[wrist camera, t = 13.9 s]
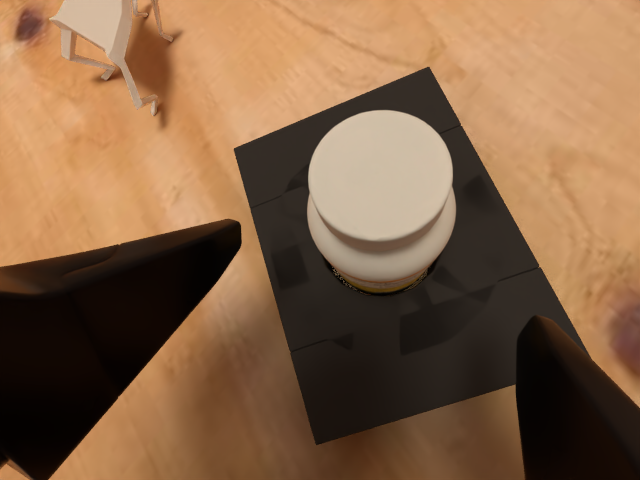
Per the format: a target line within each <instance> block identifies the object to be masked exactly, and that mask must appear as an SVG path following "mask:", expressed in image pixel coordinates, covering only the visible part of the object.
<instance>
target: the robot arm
mask: <svg viewBox="0 0 640 480" xmlns="http://www.w3.org/2000/svg"><path fill="white" fill-rule="evenodd" d="M241 243H242V240H241V225H240V223H239V222H238V221H235V220H231V219H225V220H221V221H216V222H212V223H208V224H203V225H199V226H195V227H191V228H186V229H182V230H178V231H173V232H169V233H165V234H160V235H156V236H152V237H148V238H143V239H139V240H135V241H130V242H126V243H122V244H120V245H118V244H117V245H113V246H109V247H104V248H100V249H95V250H91V251H86V252H81V253H76V254H71V255H66V256H60V257H55V258H49V259H44V260H38V261H33V262H27V263H22V264H16V265H10V266H4V267H0V469H1V468H2V467H3V466H4V465H5V464H7V465H9V466H10V467H12V468H13V469H15V470H16V471H18V472H19V473H21V474H22V475H24V476H25V477H27V478H28V479H30V480H48V479H49V478H50V477H51V476H52V475H53V474H54V473H55V471H56V470H57V469H58V468H59V467H60V466H61V464H62V463H63V462H64V461H65V460H66V458H67V457H68V456H69V455H70V454H71V453H72V451H73V450H74V449H75V448H76V447H77V446H78V444H79V443H80V442H81V441H82V440H83V439H84V437H85V436H86V435H87V434H88V433H89V432H90V430H91V429H92V428H93V427H94V426H95V425H96V423H97V422H98V421H99V420H100V419H101V418H102V416H103V415H104V414H105V413H106V412H107V411H108V409H109V408H110V407H111V406H112V405H113V404H114V402H115V401H116V400H117V399H118V396H120V395H121V394H122V393H123V392H124V390H125V389H126V388H127V387H128V386H129V385H130V383H131V382H132V381H133V380H134V379H135V378H136V376H137V375H138V374H139V373H140V372H141V371H142V369H143V368H144V367H145V366H146V365H147V363H148V362H149V361H150V360H151V359H152V358H153V356H154V355H155V354H156V353H157V352H158V351H159V349H160V348H161V347H162V346H163V345H164V344H165V342H166V341H167V340H168V339H169V338H170V337H171V335H172V334H173V333H174V332H175V331H176V330H177V328H178V327H179V326H180V325H181V324H182V323H183V321H184V320H185V319H186V318H187V317H188V316H189V314H190V313H191V312H192V311H193V310H194V308H195V307H196V306H197V305H198V304H199V303H200V301H201V300H202V299H203V298H204V297H205V296H206V294H207V293H208V292H209V291H210V290H211V289H212V287H213V286H214V285H215V284H216V282H217V281H218V280H219V278H220V277H221V276H222V274H223V273H224V271H225V270H226V268H227V267H228V265H229V264H230V262H231V261H232V259H233V258H234V256H235V255H236V254H237V252H238V251H239V249H240V247H241ZM516 402H517V411H518V420H519V429H520V438H521V447H522V456H523V465H524V474H525V480H640V408H639V407H638V406H637V405H636V404H635V403H634V402H633V401H632V400H631V399H630V398H629V397H628V396H627V395H626V394H625V393H624V392H623V390H622V389H621V388H620V387H619V386H618V385H617V384H616V383H615V382H614V381H613V380H612V379H611V378H610V377H609V376H608V375H607V374H606V373H605V372H604V371H603V370H602V369H601V368H600V367H599V366H598V365H597V364H596V363H595V362H594V361H593V360H592V359H591V358H590V357H589V356H588V355H587V354H586V353H585V352H584V351H583V350H582V349H581V348H580V347H579V346H578V345H577V344H576V343H575V342H574V341H573V340H572V339H571V338H570V337H569V336H568V335H567V334H566V333H565V332H564V331H563V330H562V329H561V328H560V327H559V326H558V325H557V324H556V323H555V322H554V321H553V320H551V319H549V318H546V317H542V316H539V315H534V316H532V317H531V318H530V319H529V321H528V322H527V324H526V325H525V326H524V328H523V329H522V331H521V332H520V333H519V335H518V338H517V347H516Z"/></svg>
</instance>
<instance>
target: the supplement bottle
mask: <svg viewBox="0 0 640 480" xmlns="http://www.w3.org/2000/svg"><path fill="white" fill-rule="evenodd" d="M452 182H453V167H452V160H451V157H450V153H449V151H448V149H447V146H446V144H445V143H444V141H443V140H442V138H441V137H440V135H439V134H438V133H437V132H436V131H435V130H434V129H433V128H432V127H431V126H429V125H428V124H427V123H425V122H424V121H422V120H420V119H419V118H417V117H414V116H412V115H409V114H406V113H402V112H397V111H390V110H377V111H369V112H363V113H360V114H357V115H355V116H352V117H350V118H348V119H346V120H344V121H342V122H341V123H339V124H338V125H336V126H335V127H334V128H332V129H331V130H330V131H329V132H328V133H327V134H326V135H325V136H324V138H323V139H322V140H321V141H320V143H319V144H318V146H317V148H316V149H315V151H314V154H313V156H312V159H311V162H310V166H309V174H308V184H309V191H310V194H309V198H308V206H307V218H308V224H309V229H310V232H311V235H312V238H313V240H314V242H315V244H316V246H317V248H318V249H319V251H320V252H321V253H322V255H323V256H324V257H325V258H326V260H327V261H328V262H329V263H330V264H331V265H332V266H333V267H334V268H335V269H336V270H337V272H338V273H339V274H340V275H341V276H342V277H343V279H344V280H345V281H346V282H348V283H349V284H350V285H351V286H353V287H354V288H356V289H358V290H360V291H362V292H365V293H369V294H373V295H389V294H394V293H397V292H400V291H402V290H404V289H406V288H408V287H409V286H411V285H412V284H413V283H415V282H416V281H417V280H418V279H419V278H420V277H421V275H422V274H423V273H424V271H425V270H426V269H427V268H428V267H429V266H430V265H431V264H432V263H433V261H434V260H435V259H436V258H437V257H438V256H439V254H440V253H441V252H442V250H443V249H444V247H445V246H446V244H447V242H448V241H449V238H450V236H451V233H452V231H453V227H454V223H455V217H456V202H455V196H454V191H453V188H452Z"/></svg>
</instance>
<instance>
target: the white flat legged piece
mask: <svg viewBox="0 0 640 480" xmlns="http://www.w3.org/2000/svg"><path fill="white" fill-rule="evenodd" d="M151 1H152V5H153V9H154V13H155V18H156V22H157V26H158V30H159V34H160V36H162V37H163V38H165V39H167V40H169V41H171V42H172V40H173V38H172V37H171V36H169V35H167V34H164V33H163V32H162V25H161V18H160V11H159V5H158V0H151ZM132 6H133V13H134V15H135V16H138V17H147V16H148V14H147V13H142V12H138V9H137V0H132ZM132 6H131V0H64V2H63V4H62V6H61V8H60V9H59V11H58V13H57V15H55V16H53V17H51V18H50V19H49V20H50V21H52V22H53V23H54V24H55V25H57V26H58V27H59V28H60V29H61V55H62V57H64V58H66V59H67V60H69V61H74V62H78V63H82V64H87V65H91V66H95V67H100V68H104V69H107V70H106V72H105V73H104V74H103V75H102V76H101V78H103V79H104V80H107V79H108V78H109V77H110V76H111V74H112V73H113V72H114V70H115V69H116V68H115V67H114V66H112V65H109V64H106V63H102V62H99V61H96V60H92V59H89V58H86V57H82V56H79V55H76V54H75V46H76V38H77V35H79V36H81V37H82V38H84V39H85V40H87V41H89V42H90V43H92V44H93V45H95V46H97V47H98V48H100V49H102V50H103V51H105V52H106V54H107V57H108V58H109V59H110V60H111V61H113V62H114V63H115V64H116V65H117V66H119V67H120V68H121V70H122V73H123V76H124V78H125V81H126V83H127V86H128V89H129V92H130V95H131V98H132V100H133V103H134V105H135V107H136V108H137V110H138V109H140V108H142V107H143V106H145V105H147V104H149V103H151V102H152V105H151V114H152V115H153V116H154V115H155V114H156V113H157V100H158V97H157V96H156V95H155V94H153V95H150V96H148V97H145V98H143V99H140V96H139V94H138V91H137V89H136V86H135V83H134V81H133V79H132V76H131V74H130V71H129V69H128V67H127V64H126V62H125V59H124V57H125V53H126V48H127V44H128V40H129V36H130V31H131V27H132Z"/></svg>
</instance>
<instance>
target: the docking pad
mask: <svg viewBox="0 0 640 480" xmlns="http://www.w3.org/2000/svg"><path fill="white" fill-rule="evenodd" d="M377 110H390V111H397V112H402V113H406V114H409V115H412V116H414V117H417V118H419V119H420V120H422V121H424V122H425V123H427V124H428V125H429V126H431V127H432V128H433V129H434V130H435V131H436V132H437V133H438V134H439V135H440V137H441V138H442V140H443V141H444V143H445V144H446V146H447V149H448V151H449V153H450V157H451V160H452V167H453V182H452V188H453V191H454V196H455V202H456V217H455V223H454V227H453V231H452V233H451V236H450V238H449V241H448V242H447V244H446V246H445V247H444V249H443V250H442V252H441V253H440V254H439V256H438V257H437V258H436V259H435V260H434V261H433V263H432V265H431V267H430V270H429V272H428V274H427V277H426V278H425V279H424V280H422V281H421V282H420V283H419V284H418V285H417V286H416V287H415V288H413V289H410V290H407V291H404V292H401V293H398V294H395V295H392V296H375V295H364V294H362V293H360V292H358V291H356V290H353V289H351V288H349V287H347V286H345V285H344V284H343V283H342V282H341V281H340V280H339V278H338V277H337V276H336V275H335V274H334V273H333V270H332V267H331V264H330V263H329V262H328V261H327V260H326V258H325V257H324V256H323V255H322V253H321V252H320V251H319V249H318V248H317V246H316V244H315V242H314V240H313V238H312V235H311V232H310V229H309V224H308V218H307V206H308V198H309V194H310V191H309V184H308V174H309V166H310V162H311V159H312V156H313V154H314V151H315V149H316V148H317V146H318V144H319V143H320V141H321V140H322V139H323V138H324V136H325V135H326V134H327V133H328V132H329V131H330V130H331V129H332V128H334V127H335V126H336V125H338V124H339V123H341V122H342V121H344V120H346V119H348V118H350V117H352V116H355V115H357V114H360V113H363V112H369V111H377ZM234 152H235V156H236V159H237V163H238V166H239V170H240V174H241V177H242V181H243V184H244V188H245V192H246V195H247V199H248V202H249V206H250V208H251V213H252V217H253V220H254V224H255V228H256V231H257V235H258V238H259V242H260V246H261V249H262V253H263V256H264V260H265V264H266V267H267V271H268V274H269V278H270V282H271V285H272V289H273V292H274V296H275V300H276V303H277V307H278V310H279V314H280V318H281V321H282V325H283V328H284V332H285V336H286V339H287V343H288V346H289V350H290V352H291V357H292V361H293V364H294V368H295V372H296V375H297V379H298V382H299V386H300V390H301V393H302V397H303V400H304V404H305V408H306V411H307V415H308V418H309V422H310V426H311V429H312V433H313V436H314V440H315V444H316V445H318V444H322V443H325V442H328V441H331V440H335V439H338V438H341V437H345V436H348V435H351V434H354V433H358V432H361V431H364V430H367V429H371V428H374V427H377V426H381V425H384V424H387V423H390V422H394V421H397V420H400V419H404V418H407V417H410V416H413V415H417V414H420V413H423V412H426V411H430V410H433V409H436V408H440V407H443V406H446V405H449V404H453V403H456V402H459V401H463V400H466V399H469V398H472V397H476V396H479V395H482V394H485V393H489V392H492V391H495V390H499V389H502V388H505V387H508V386H512V385H515V384H516V347H517V338H518V335H519V333H520V332H521V331H522V329H523V328H524V326H525V325H526V324H527V322H528V321H529V319H530V318H531V317H532V316H534V315H539V316H542V317H546V318H549V319H551V320H553V321H554V322H555V323H556V324H557V325H558V326H559V327H560V328H561V329H562V330H563V331H564V332H565V333H566V334H567V335H568V336H569V337H570V338H571V339H572V340H573V341H574V342H575V343H576V344H577V345H578V346H579V347H580V348H581V349H582V350H583V351H584V352H585V353H586V354H587V355H588V356H589V357H590V355H589V354H588V352H587V350H586V348H585V346H584V345H583V343H582V341H581V339H580V337H579V336H578V334H577V332H576V330H575V328H574V327H573V325H572V323H571V321H570V319H569V318H568V316H567V314H566V312H565V310H564V309H563V307H562V305H561V303H560V301H559V300H558V298H557V296H556V294H555V292H554V291H553V289H552V287H551V285H550V283H549V282H548V280H547V278H546V276H545V274H544V273H543V271H542V269H541V268H538V267H539V264H538V262H537V261H536V259H535V257H534V255H533V253H532V251H531V250H530V248H529V246H528V244H527V242H526V241H525V239H524V237H523V235H522V233H521V232H520V230H519V228H518V226H517V224H516V223H515V221H514V219H513V217H512V215H511V214H510V212H509V210H508V208H507V206H506V205H505V203H504V201H503V199H502V197H501V196H500V194H499V192H498V190H497V188H496V187H495V185H494V183H493V181H492V179H491V178H490V176H489V174H488V172H487V170H486V169H485V167H484V165H483V163H482V161H481V160H480V158H479V156H478V154H477V152H476V151H475V149H474V147H473V145H472V143H471V142H470V140H469V138H468V136H467V134H466V133H465V131H464V129H463V127H462V126H461V123H460V122H459V120H458V118H457V116H456V114H455V113H454V111H453V109H452V107H451V105H450V104H449V102H448V100H447V98H446V96H445V95H444V93H443V91H442V89H441V87H440V86H439V84H438V82H437V80H436V78H435V76H434V75H433V73H432V71H431V69H430V67H427V68H424V69H422V70H419V71H417V72H415V73H412V74H410V75H408V76H405V77H403V78H400V79H398V80H396V81H393V82H391V83H389V84H386V85H384V86H381V87H379V88H377V89H374V90H372V91H370V92H367V93H365V94H362V95H360V96H358V97H355V98H353V99H350V100H348V101H346V102H343V103H341V104H339V105H336V106H334V107H331V108H329V109H327V110H324V111H322V112H320V113H317V114H315V115H312V116H310V117H308V118H305V119H303V120H301V121H298V122H296V123H293V124H291V125H289V126H286V127H284V128H281V129H279V130H277V131H274V132H272V133H270V134H267V135H265V136H262V137H260V138H258V139H255V140H253V141H251V142H248V143H246V144H243V145H241V146H239V147H236V148H234ZM590 358H591V357H590Z"/></svg>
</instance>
